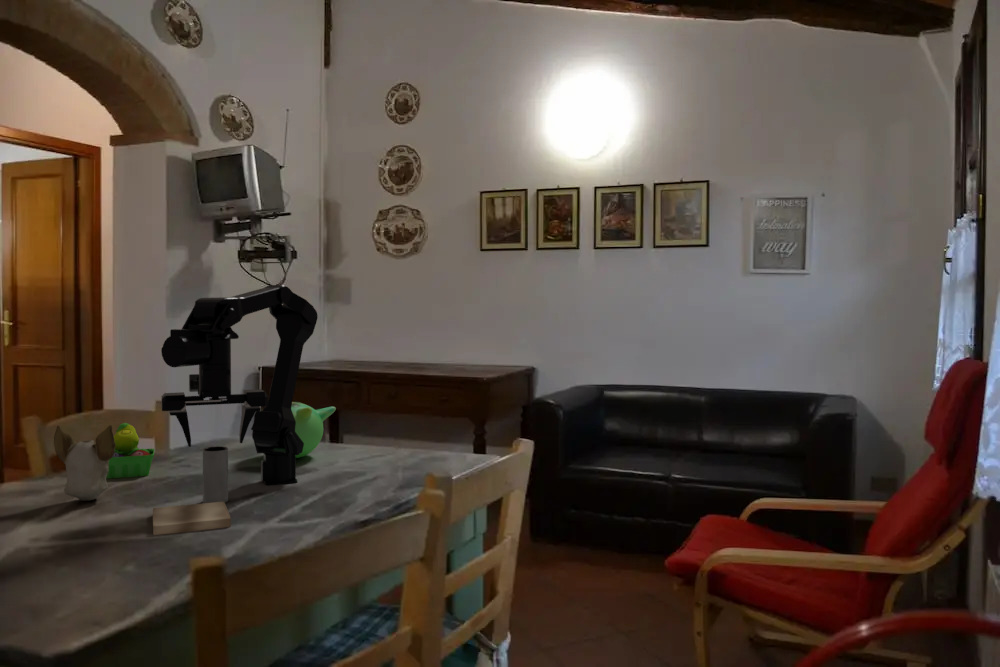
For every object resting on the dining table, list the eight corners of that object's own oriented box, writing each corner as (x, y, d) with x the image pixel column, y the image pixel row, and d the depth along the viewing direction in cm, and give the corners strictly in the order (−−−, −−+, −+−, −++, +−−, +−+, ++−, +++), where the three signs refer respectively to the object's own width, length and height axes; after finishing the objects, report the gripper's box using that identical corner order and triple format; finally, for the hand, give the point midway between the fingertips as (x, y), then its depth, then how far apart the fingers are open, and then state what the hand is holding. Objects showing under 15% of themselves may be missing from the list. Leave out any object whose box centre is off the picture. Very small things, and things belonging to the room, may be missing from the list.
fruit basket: (94, 482, 158) (94, 429, 158) (98, 473, 166) (98, 423, 166) (154, 477, 163) (153, 426, 162) (155, 469, 171) (154, 420, 170)
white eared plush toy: (125, 495, 147) (124, 420, 146) (110, 507, 138) (109, 427, 138) (67, 497, 145) (66, 420, 145) (48, 509, 137) (47, 428, 136)
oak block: (224, 512, 138) (224, 501, 138) (230, 529, 127) (230, 518, 127) (152, 519, 133) (152, 508, 133) (153, 538, 122) (153, 526, 122)
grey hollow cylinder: (219, 505, 140) (219, 451, 140) (198, 504, 141) (197, 450, 141) (232, 499, 145) (232, 446, 145) (211, 498, 146) (211, 445, 145)
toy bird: (275, 450, 195) (275, 394, 194) (337, 452, 192) (337, 395, 192) (242, 464, 177) (242, 402, 176) (310, 467, 174) (310, 404, 174)
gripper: (260, 359, 153) (260, 434, 154) (160, 361, 146) (161, 441, 146) (268, 363, 143) (268, 443, 144) (161, 366, 135) (162, 451, 136)
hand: (215, 444), depth 143 cm, fingers open, 9 cm apart
